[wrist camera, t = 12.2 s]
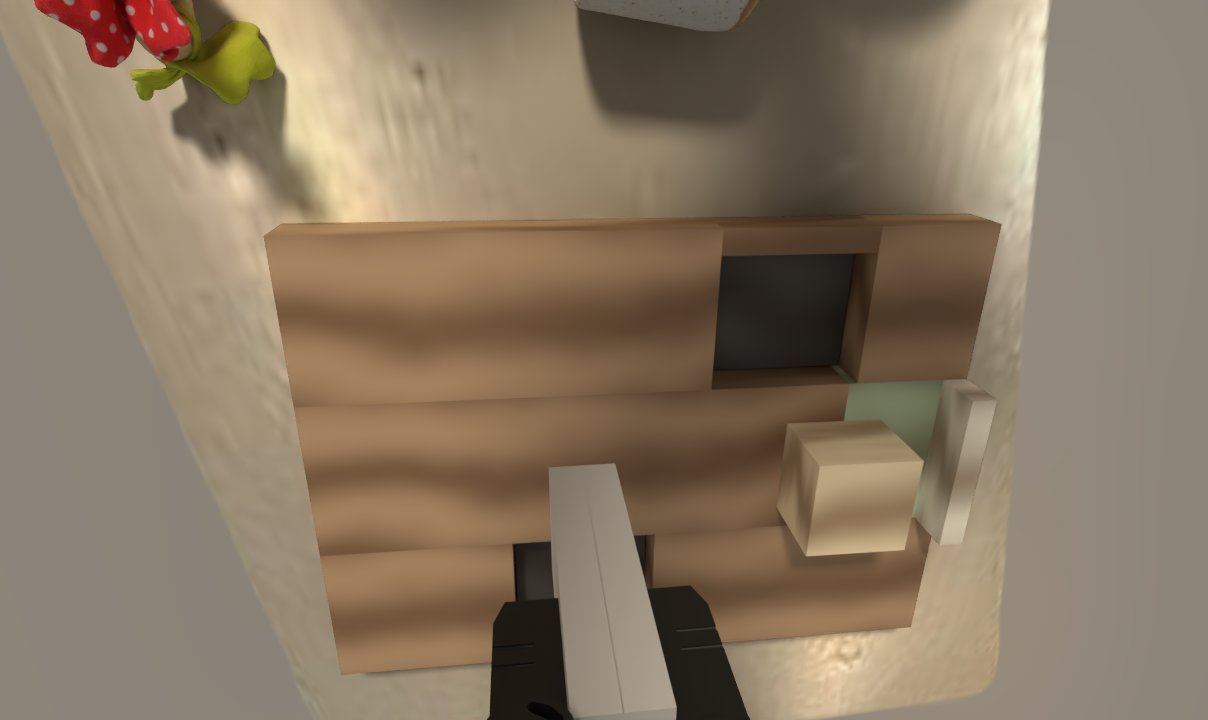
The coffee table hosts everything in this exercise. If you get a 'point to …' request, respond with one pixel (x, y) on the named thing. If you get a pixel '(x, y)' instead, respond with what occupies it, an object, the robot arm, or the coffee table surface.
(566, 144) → the coffee table surface
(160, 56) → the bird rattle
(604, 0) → the ceramic mug
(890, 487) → the maple block
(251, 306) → the coffee table surface
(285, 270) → the board
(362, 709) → the coffee table surface
